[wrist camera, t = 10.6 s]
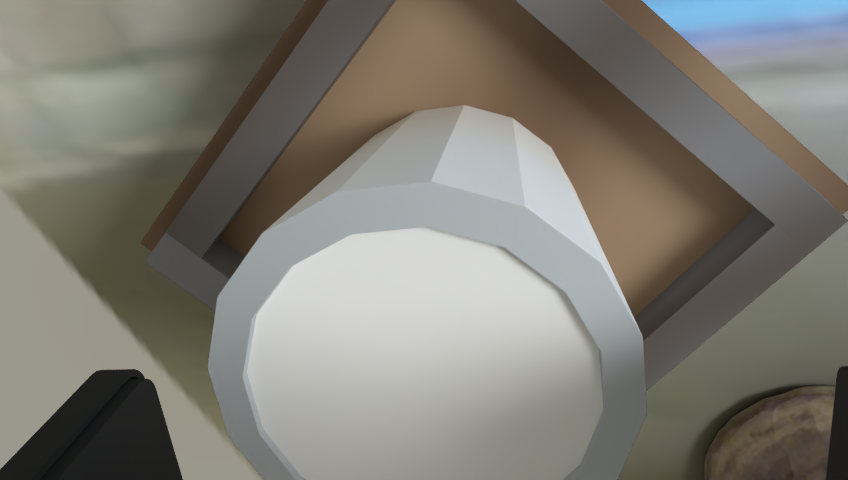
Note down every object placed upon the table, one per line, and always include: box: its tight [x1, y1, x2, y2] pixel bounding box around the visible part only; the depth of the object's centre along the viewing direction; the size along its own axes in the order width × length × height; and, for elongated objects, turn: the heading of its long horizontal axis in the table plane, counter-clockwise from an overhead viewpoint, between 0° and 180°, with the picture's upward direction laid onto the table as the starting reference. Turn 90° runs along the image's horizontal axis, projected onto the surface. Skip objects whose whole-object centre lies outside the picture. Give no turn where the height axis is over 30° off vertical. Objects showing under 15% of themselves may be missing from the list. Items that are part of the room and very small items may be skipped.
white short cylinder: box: [208, 105, 647, 480], centre depth 15 cm, size 7×7×7 cm
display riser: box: [141, 0, 848, 391], centre depth 20 cm, size 12×12×7 cm
